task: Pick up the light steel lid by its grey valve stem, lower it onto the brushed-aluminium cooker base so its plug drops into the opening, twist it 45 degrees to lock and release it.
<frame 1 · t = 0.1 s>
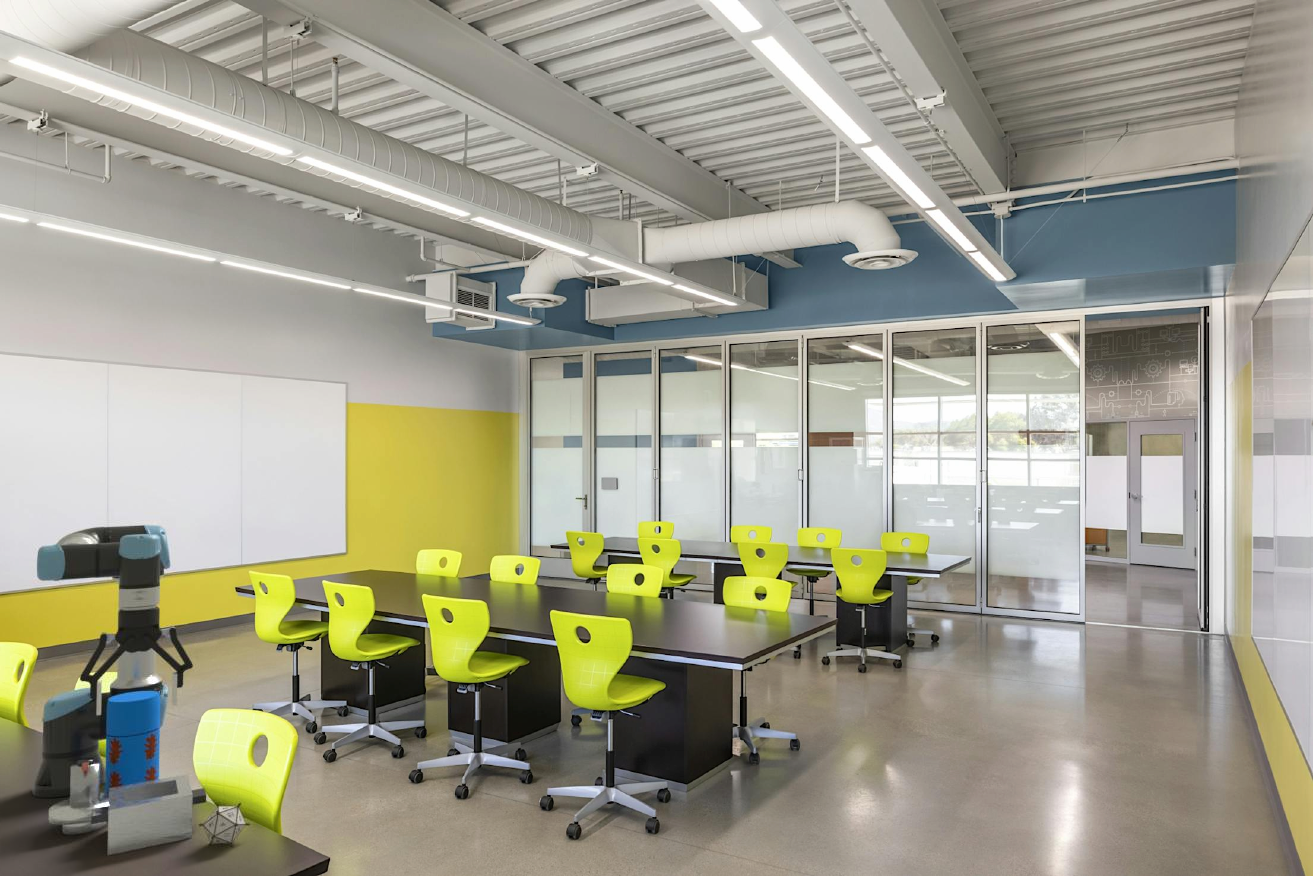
hand: (137, 708, 176), 28 cm above the table, fingers open, 13 cm apart
game die: (224, 845, 174), on the table
thermos: (132, 804, 197), on the table
cooker base: (149, 834, 180), on the table
lid: (84, 826, 184), on the table
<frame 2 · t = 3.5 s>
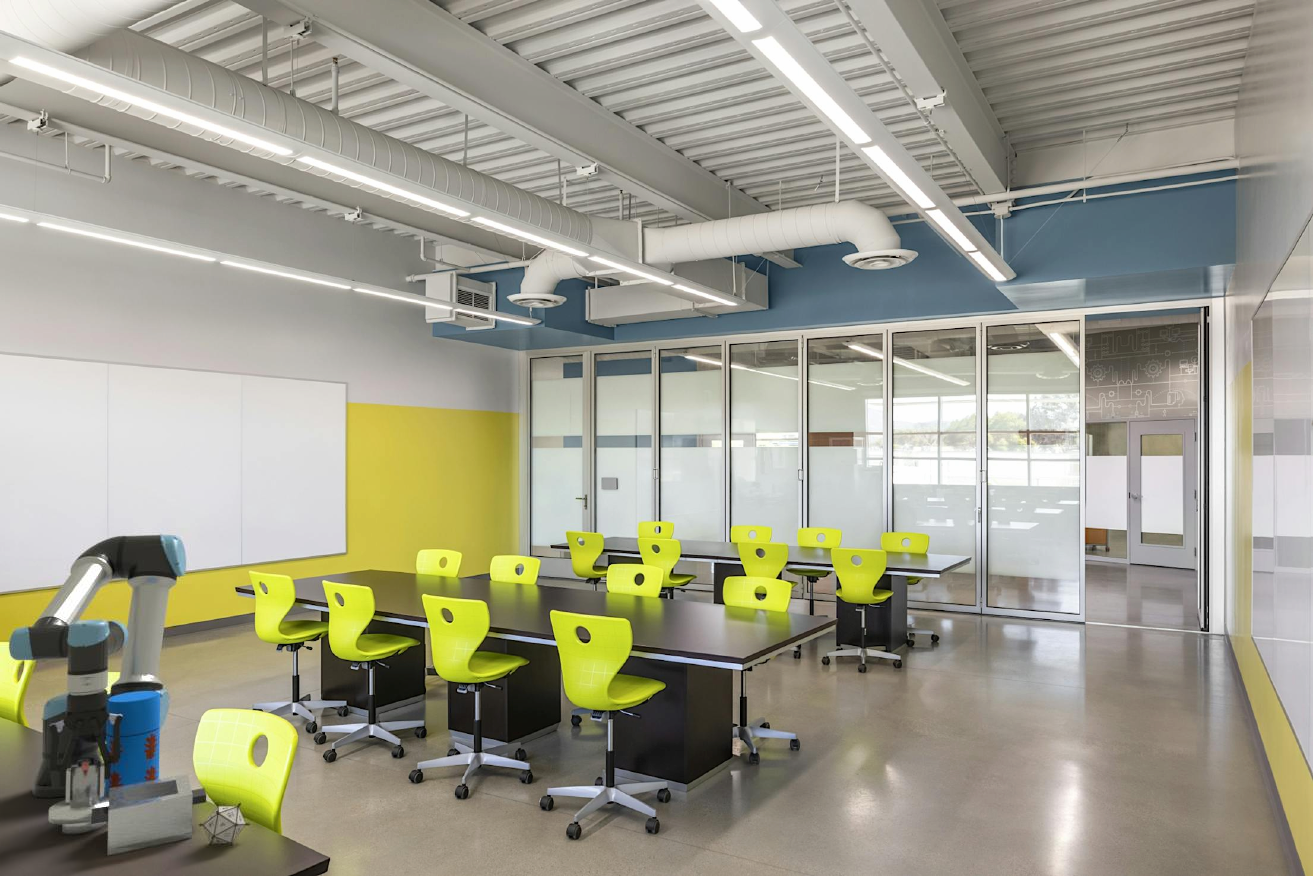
hand: (85, 797, 184), 6 cm above the table, fingers closed on lid, 5 cm apart
lid: (84, 826, 184), on the table, touching gripper
everything else where it was.
when the fingers open (13 cm above the table, at t = 8.4 s): lid stays where it is, resting on cooker base.
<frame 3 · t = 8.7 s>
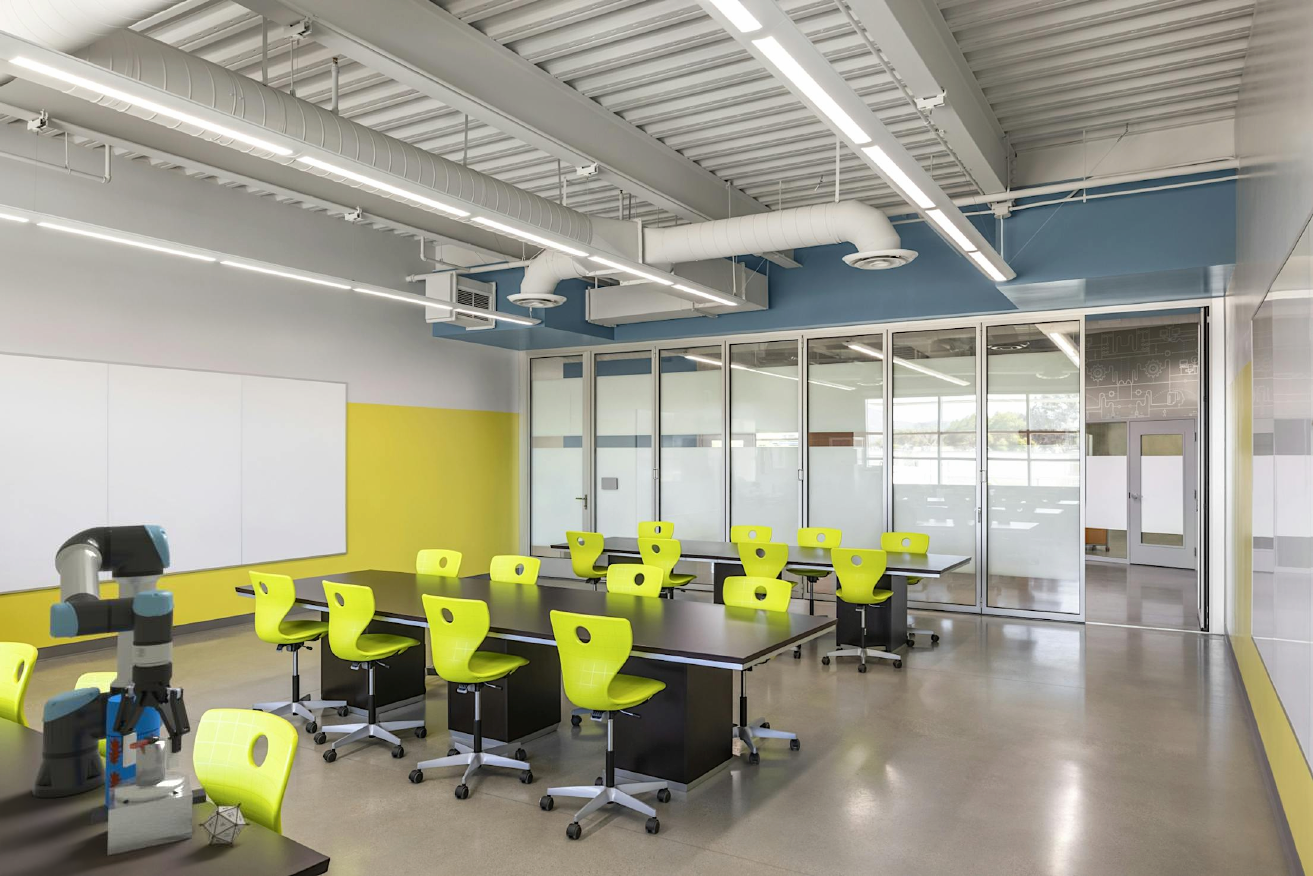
hand: (150, 766, 180), 14 cm above the table, fingers open, 10 cm apart
lid: (149, 805, 180), point 6 cm above the table, touching cooker base
everything else where it was.
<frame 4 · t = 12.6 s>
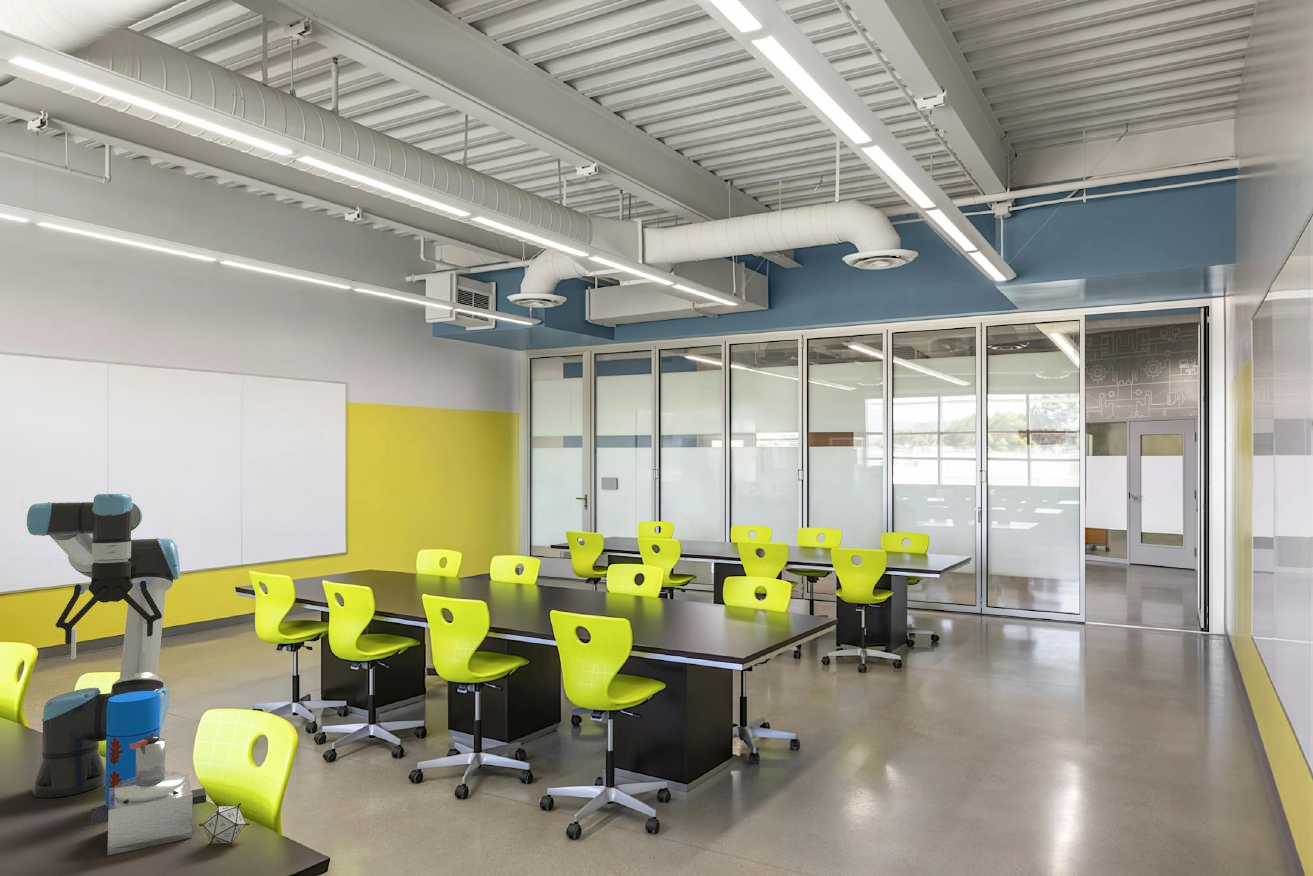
hand: (109, 654, 190), 37 cm above the table, fingers open, 13 cm apart
nothing on the table moved.
at the end: lid 0.0 cm off-centre on the cooker base, point 6.0 cm above the cooker base's base; lid tilted 0°; the gripper is holding nothing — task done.
